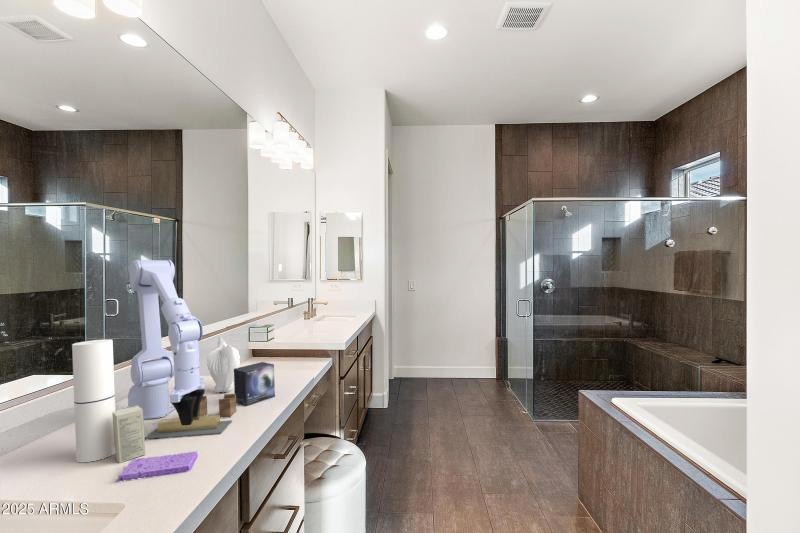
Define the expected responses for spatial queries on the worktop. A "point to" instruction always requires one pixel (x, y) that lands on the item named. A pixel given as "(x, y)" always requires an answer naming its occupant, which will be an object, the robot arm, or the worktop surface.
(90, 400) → the cylindrical container
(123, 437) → the skincare box
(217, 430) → the mat
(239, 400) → the small box
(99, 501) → the worktop surface
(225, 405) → the posts
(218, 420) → the rail
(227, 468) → the worktop surface
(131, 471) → the sponges
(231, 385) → the shell sculpture
